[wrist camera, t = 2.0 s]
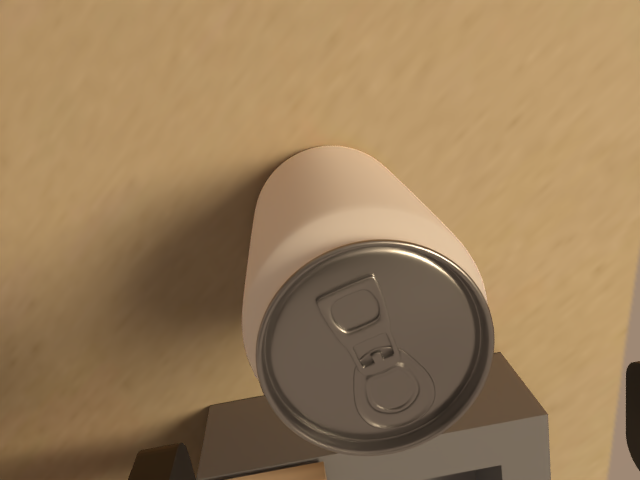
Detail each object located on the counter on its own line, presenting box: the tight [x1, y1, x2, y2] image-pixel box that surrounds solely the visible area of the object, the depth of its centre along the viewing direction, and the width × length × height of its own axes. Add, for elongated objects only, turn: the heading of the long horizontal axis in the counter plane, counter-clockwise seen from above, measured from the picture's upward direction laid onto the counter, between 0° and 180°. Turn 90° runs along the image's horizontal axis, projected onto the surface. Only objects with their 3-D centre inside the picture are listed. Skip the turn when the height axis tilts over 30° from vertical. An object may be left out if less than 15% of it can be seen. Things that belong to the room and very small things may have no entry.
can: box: [242, 146, 494, 456], centre depth 19 cm, size 6×6×12 cm
